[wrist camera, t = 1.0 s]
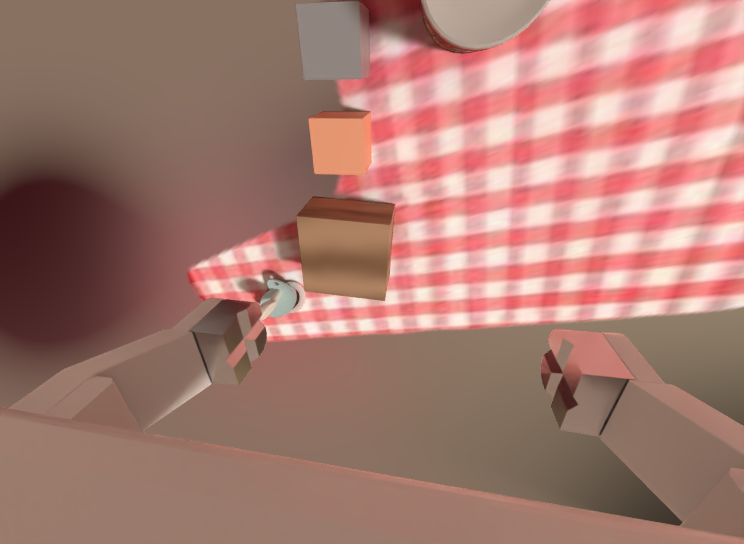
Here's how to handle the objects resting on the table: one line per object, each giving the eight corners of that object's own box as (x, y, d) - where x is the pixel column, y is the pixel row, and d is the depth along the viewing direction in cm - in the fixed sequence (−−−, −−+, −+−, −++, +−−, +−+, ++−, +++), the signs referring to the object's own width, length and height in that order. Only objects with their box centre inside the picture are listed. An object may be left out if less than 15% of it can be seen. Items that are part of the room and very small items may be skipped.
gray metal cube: (314, 12, 28) (295, 3, 24) (369, 9, 28) (359, 0, 23) (320, 77, 31) (303, 79, 27) (370, 77, 30) (361, 79, 26)
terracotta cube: (323, 111, 33) (308, 118, 29) (370, 111, 32) (362, 118, 28) (327, 160, 35) (314, 173, 31) (371, 161, 35) (364, 175, 31)
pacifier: (313, 284, 46) (274, 267, 45) (300, 313, 41) (256, 294, 40) (297, 316, 50) (262, 300, 49) (284, 346, 45) (243, 329, 44)
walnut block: (313, 196, 38) (296, 216, 33) (395, 203, 37) (390, 225, 32) (318, 265, 44) (304, 291, 39) (389, 273, 43) (384, 300, 38)
